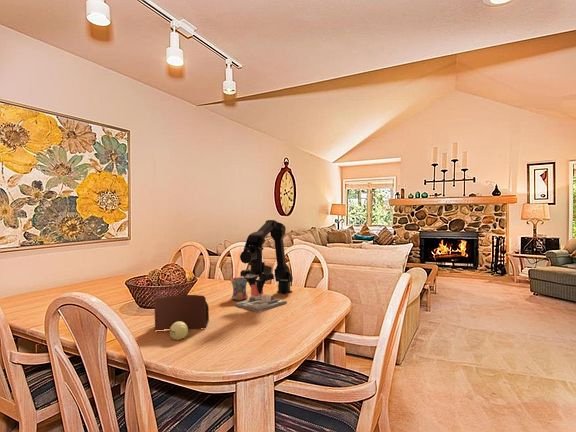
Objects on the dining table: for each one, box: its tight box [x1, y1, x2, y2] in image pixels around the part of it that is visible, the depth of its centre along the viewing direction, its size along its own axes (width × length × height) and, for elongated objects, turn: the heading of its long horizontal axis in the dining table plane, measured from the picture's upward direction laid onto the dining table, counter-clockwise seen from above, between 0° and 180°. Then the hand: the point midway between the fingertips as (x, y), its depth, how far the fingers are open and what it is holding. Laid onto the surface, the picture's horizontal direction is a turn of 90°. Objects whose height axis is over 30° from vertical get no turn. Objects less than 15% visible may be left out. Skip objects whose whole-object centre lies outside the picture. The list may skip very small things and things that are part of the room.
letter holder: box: [153, 294, 210, 331], centre depth 138 cm, size 10×20×14 cm, turn 97°
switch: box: [261, 293, 272, 303], centre depth 165 cm, size 3×4×4 cm
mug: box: [230, 276, 248, 301], centre depth 180 cm, size 12×9×11 cm
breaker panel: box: [235, 295, 288, 313], centre depth 167 cm, size 19×17×3 cm
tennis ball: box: [169, 321, 189, 340], centre depth 125 cm, size 6×7×7 cm
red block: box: [250, 284, 264, 296], centre depth 161 cm, size 4×4×5 cm
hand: (257, 292), depth 161 cm, fingers closed on red block, 4 cm apart
